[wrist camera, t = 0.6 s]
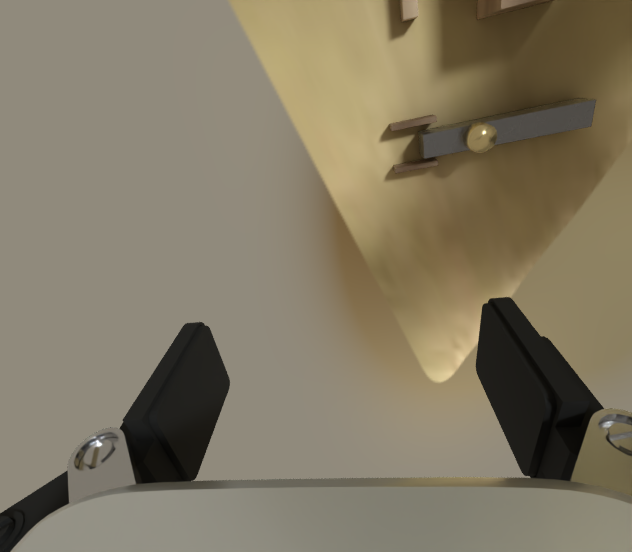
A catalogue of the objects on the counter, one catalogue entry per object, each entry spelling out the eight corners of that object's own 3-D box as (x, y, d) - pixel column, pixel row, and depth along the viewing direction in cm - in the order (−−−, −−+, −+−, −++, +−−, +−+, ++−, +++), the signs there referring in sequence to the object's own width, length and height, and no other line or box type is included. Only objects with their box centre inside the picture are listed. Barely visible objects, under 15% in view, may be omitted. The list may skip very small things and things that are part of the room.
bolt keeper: (433, 114, 27) (436, 116, 26) (434, 162, 29) (437, 165, 28) (389, 123, 28) (391, 125, 27) (393, 169, 30) (395, 173, 29)
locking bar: (579, 96, 26) (607, 99, 23) (575, 124, 27) (601, 130, 24) (418, 130, 28) (426, 136, 25) (419, 154, 29) (427, 163, 26)
